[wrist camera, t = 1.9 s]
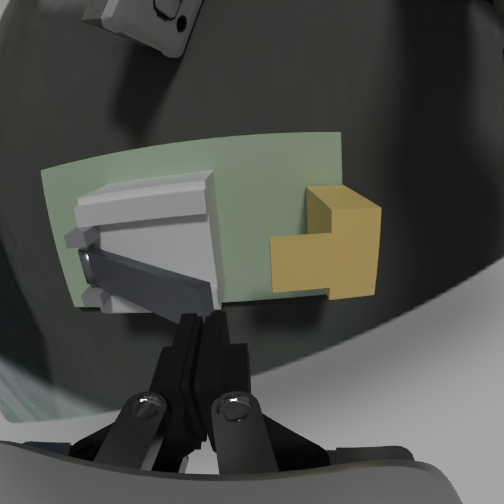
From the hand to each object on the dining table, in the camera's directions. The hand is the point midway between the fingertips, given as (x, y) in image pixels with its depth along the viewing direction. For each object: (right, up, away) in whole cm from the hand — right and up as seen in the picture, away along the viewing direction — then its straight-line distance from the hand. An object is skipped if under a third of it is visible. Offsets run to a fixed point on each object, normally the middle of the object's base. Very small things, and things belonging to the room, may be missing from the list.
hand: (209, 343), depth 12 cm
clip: (+6, +6, +13) cm, 15 cm away
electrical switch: (-5, +24, +7) cm, 25 cm away
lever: (-5, +2, +5) cm, 7 cm away
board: (-4, +6, +14) cm, 16 cm away
